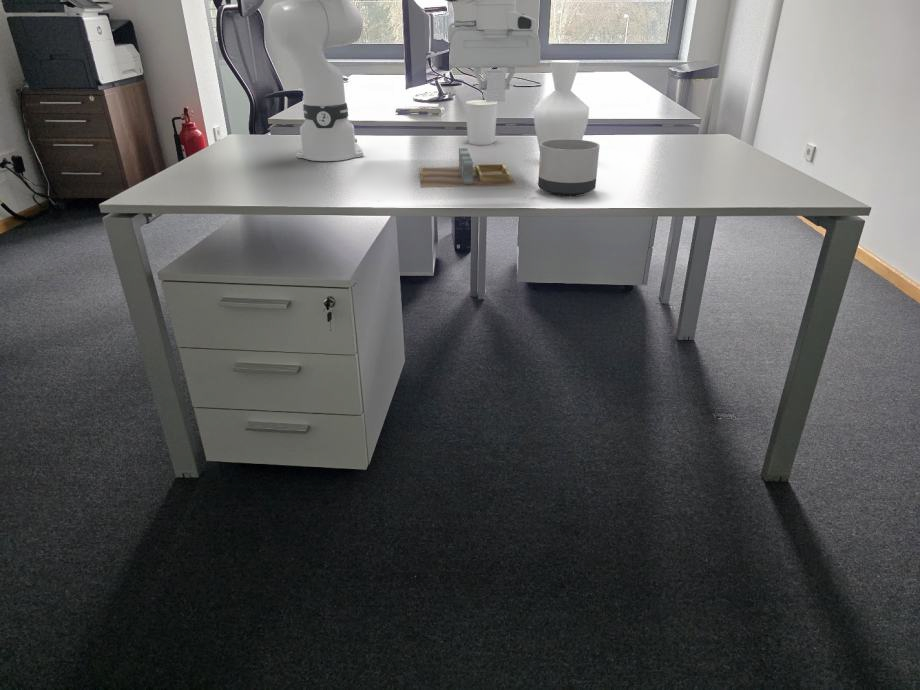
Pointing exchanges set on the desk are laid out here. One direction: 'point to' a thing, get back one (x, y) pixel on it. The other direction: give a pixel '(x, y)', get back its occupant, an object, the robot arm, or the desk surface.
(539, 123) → the vase
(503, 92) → the bar
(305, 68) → the robot arm
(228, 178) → the desk surface
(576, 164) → the planter
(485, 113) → the candle holder
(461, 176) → the board
